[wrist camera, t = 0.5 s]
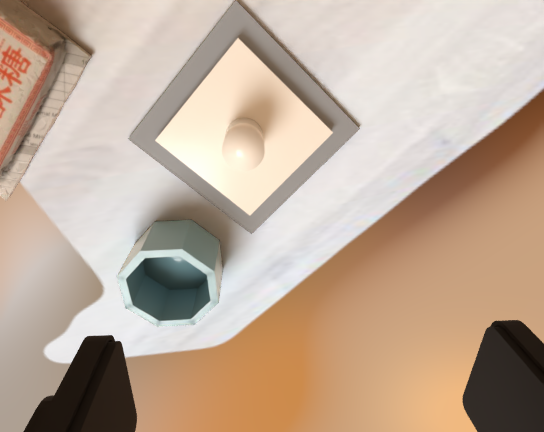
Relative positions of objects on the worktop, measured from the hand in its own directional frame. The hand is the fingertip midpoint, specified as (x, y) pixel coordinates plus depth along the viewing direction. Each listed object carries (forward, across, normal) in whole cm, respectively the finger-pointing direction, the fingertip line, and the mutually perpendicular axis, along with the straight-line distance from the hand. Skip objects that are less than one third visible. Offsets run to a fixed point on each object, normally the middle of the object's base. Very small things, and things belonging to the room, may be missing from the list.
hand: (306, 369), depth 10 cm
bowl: (+30, +9, +15) cm, 35 cm away
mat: (+30, +2, +1) cm, 30 cm away
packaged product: (+31, +24, -2) cm, 39 cm away
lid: (+29, +2, +1) cm, 29 cm away
